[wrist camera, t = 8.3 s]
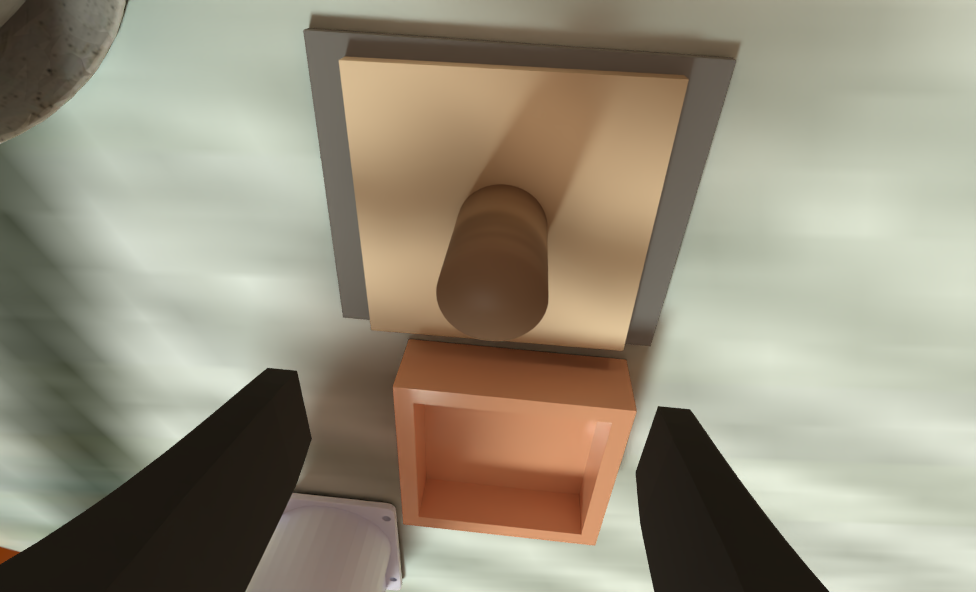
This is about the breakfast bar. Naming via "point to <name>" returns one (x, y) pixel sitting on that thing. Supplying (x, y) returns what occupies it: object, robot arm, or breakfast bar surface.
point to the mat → (702, 71)
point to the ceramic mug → (49, 55)
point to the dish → (510, 439)
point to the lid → (506, 195)
